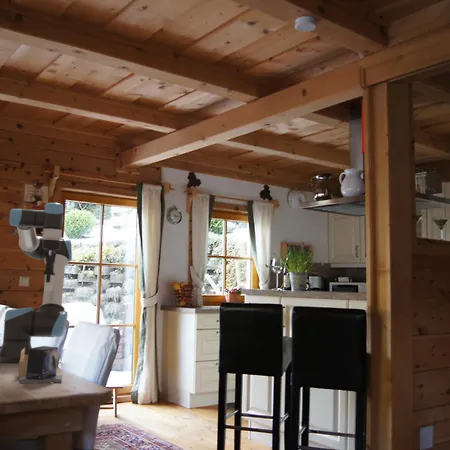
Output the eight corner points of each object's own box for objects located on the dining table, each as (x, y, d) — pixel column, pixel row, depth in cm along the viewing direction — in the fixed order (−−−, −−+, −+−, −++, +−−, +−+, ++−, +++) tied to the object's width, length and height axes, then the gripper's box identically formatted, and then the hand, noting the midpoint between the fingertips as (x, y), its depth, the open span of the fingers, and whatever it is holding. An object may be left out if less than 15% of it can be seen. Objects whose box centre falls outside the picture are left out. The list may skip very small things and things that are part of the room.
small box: (42, 380, 191) (44, 349, 192) (25, 378, 192) (27, 348, 193) (57, 375, 201) (59, 346, 202) (40, 374, 202) (42, 345, 204)
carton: (22, 370, 219) (24, 347, 220) (56, 370, 222) (58, 347, 223) (18, 377, 201) (20, 352, 202) (55, 377, 204) (56, 352, 205)
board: (21, 378, 199) (22, 375, 200) (61, 378, 203) (62, 374, 203) (19, 383, 190) (19, 379, 190) (61, 382, 193) (61, 379, 194)
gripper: (43, 241, 242) (40, 290, 239) (40, 236, 218) (36, 290, 215) (61, 242, 244) (58, 290, 241) (60, 237, 220) (56, 291, 217)
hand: (48, 290), depth 228 cm, fingers open, 13 cm apart
